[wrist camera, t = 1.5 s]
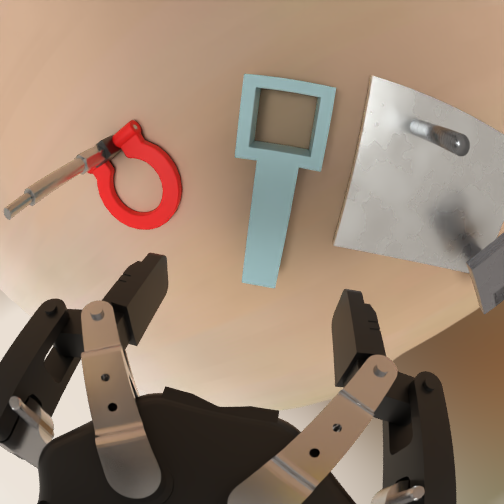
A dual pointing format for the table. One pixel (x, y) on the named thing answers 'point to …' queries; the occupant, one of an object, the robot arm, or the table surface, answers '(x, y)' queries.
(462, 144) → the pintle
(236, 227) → the table surface
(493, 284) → the block
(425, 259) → the board
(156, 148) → the tow hook
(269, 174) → the link
